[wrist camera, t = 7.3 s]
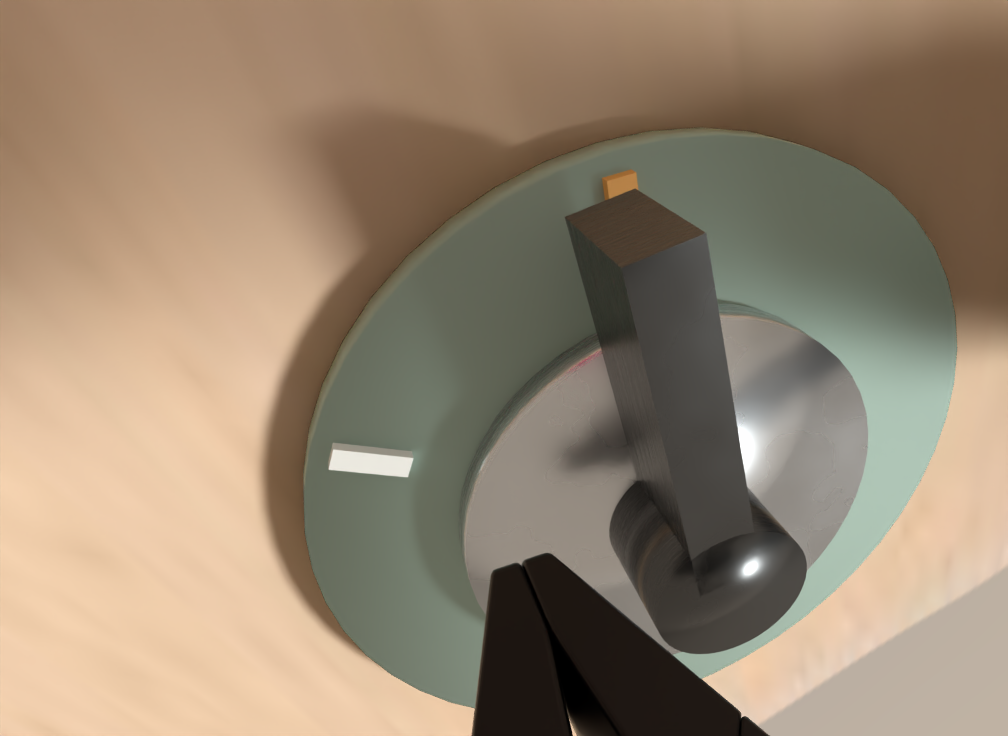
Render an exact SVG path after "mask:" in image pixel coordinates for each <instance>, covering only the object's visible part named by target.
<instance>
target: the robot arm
mask: <svg viewBox="0 0 1008 736" xmlns="http://www.w3.org/2000/svg"><path fill="white" fill-rule="evenodd" d="M569 718H570V721H571V724H572V726H573V728H574V730H575V733H576V735H577V736H769V735H768V734H766V733H765V732H764V731H763V730H762V729H761V728H759V727H758V726H757V725H756V724H755V723H754V722H752V721H751V720H750V719H749V718H748V717H746V716H744V717H742V718H741V712H740V711H739V710H738V709H737V708H735V707H734V706H733V705H732V704H731V703H729V702H728V701H727V700H726V699H725V698H723V697H722V696H721V695H720V694H719V693H717V692H716V691H715V690H714V689H713V688H712V687H710V686H709V685H708V684H707V683H706V682H704V681H703V680H702V679H701V678H700V677H698V676H697V675H696V674H695V673H694V672H692V671H691V670H690V669H689V668H688V667H686V666H685V665H684V664H683V663H682V662H681V661H679V660H678V659H677V658H676V657H675V656H673V655H672V654H671V653H670V652H669V651H667V650H666V649H665V648H664V647H663V646H661V645H660V644H659V643H658V642H657V641H655V640H654V639H653V638H652V637H651V636H649V635H648V634H647V633H646V632H645V631H644V630H642V629H641V628H640V627H639V626H638V625H636V624H635V623H634V622H633V621H632V620H630V619H629V618H628V617H627V616H626V615H624V614H623V613H622V612H621V611H620V610H618V609H617V608H616V607H615V606H614V605H613V604H611V603H610V602H609V601H608V600H607V599H605V598H604V597H603V596H602V595H601V594H599V593H598V592H597V591H596V590H595V589H593V588H592V587H591V586H590V585H589V584H587V583H586V582H585V581H584V580H583V579H582V578H580V577H579V576H578V575H577V574H576V573H574V572H573V571H572V570H571V569H570V568H568V567H567V566H566V565H565V564H564V563H562V562H561V561H560V560H559V559H558V558H556V557H555V556H554V555H553V554H551V553H543V554H540V555H537V556H534V557H531V558H528V559H525V560H524V561H523V562H522V566H521V564H519V563H513V564H510V565H507V566H504V567H501V568H498V569H495V570H493V571H492V573H491V576H490V584H489V593H488V601H487V610H486V618H485V626H484V635H483V643H482V652H481V660H480V669H479V677H478V686H477V694H476V703H475V711H474V720H473V728H472V736H573V735H572V730H571V725H570V721H569Z"/></svg>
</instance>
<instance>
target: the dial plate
mask: <svg viewBox="0 0 1008 736" xmlns="http://www.w3.org/2000/svg"><path fill="white" fill-rule="evenodd" d="M632 189H637V190H639V191H640V192H642V193H643V194H645V195H647V196H648V197H650V198H651V199H653V200H655V201H656V202H658V203H659V204H661V205H663V206H664V207H666V208H667V209H669V210H671V211H672V212H674V213H675V214H677V215H679V216H680V217H682V218H683V219H685V220H686V221H688V222H690V223H691V224H693V225H694V226H696V227H698V228H699V229H701V230H702V231H704V232H706V234H707V240H708V246H709V253H710V259H711V265H712V271H713V277H714V284H715V290H716V296H717V302H718V303H719V304H734V305H740V306H745V307H750V308H756V309H759V310H762V311H764V312H767V313H770V314H773V315H776V316H778V317H780V318H782V319H784V320H786V321H787V322H789V323H791V324H793V325H794V326H796V327H798V328H799V329H801V330H802V331H804V332H805V333H806V334H808V335H809V336H811V337H812V338H814V339H815V340H816V341H818V342H819V343H821V344H822V345H823V346H824V347H826V348H827V349H828V350H829V351H830V352H832V353H833V354H834V355H835V356H836V357H837V358H839V360H840V361H841V362H842V364H843V365H844V366H845V367H846V369H847V370H848V371H849V372H850V374H851V375H852V377H853V379H854V381H855V383H856V385H857V387H858V389H859V391H860V393H861V396H862V399H863V403H864V406H865V410H866V415H867V424H868V451H867V458H866V463H865V468H864V473H863V477H862V480H861V483H860V486H859V489H858V492H857V495H856V497H855V499H854V502H853V504H852V506H851V508H850V510H849V512H848V515H847V516H846V518H845V520H844V522H843V523H842V525H841V527H840V528H839V530H838V532H837V533H836V535H835V537H834V538H833V539H832V541H831V542H830V543H829V545H828V546H827V548H826V549H825V550H824V552H823V553H822V554H821V556H820V557H819V558H818V559H817V560H816V561H815V562H814V564H813V565H812V566H811V567H810V568H809V569H808V570H807V573H806V579H805V582H804V585H803V588H802V590H801V592H800V594H799V596H798V597H797V599H796V601H795V602H794V603H793V605H792V606H791V608H790V609H789V610H788V611H787V612H786V613H785V614H784V616H783V617H782V618H780V619H779V620H778V621H777V622H776V623H775V624H774V625H773V626H771V627H770V628H769V629H768V630H766V631H765V632H763V633H762V634H760V635H759V636H757V637H755V638H754V639H752V640H750V641H748V642H746V643H744V644H742V645H740V646H737V647H735V648H732V649H729V650H725V651H721V652H717V653H710V654H690V653H685V652H680V653H676V654H673V656H675V657H676V658H677V659H678V660H679V661H681V662H682V663H683V664H684V665H685V666H686V667H688V668H689V669H690V670H691V671H692V672H694V673H695V674H696V675H697V676H698V677H700V678H701V679H702V678H704V677H706V676H709V675H711V674H713V673H715V672H717V671H719V670H721V669H723V668H725V667H727V666H729V665H731V664H733V663H734V662H736V661H738V660H740V659H742V658H744V657H746V656H747V655H749V654H751V653H752V652H754V651H756V650H757V649H759V648H760V647H762V646H764V645H765V644H767V643H768V642H770V641H772V640H773V639H775V638H776V637H778V636H779V635H781V634H782V633H783V632H785V631H786V630H787V629H789V628H790V627H792V626H793V625H794V624H796V623H797V622H798V621H800V620H801V619H803V618H804V617H805V616H806V615H808V614H809V613H810V612H811V611H812V610H813V609H815V608H816V607H817V606H818V605H819V604H821V603H822V602H823V601H824V600H825V599H826V598H828V597H829V596H830V595H831V594H832V593H833V592H834V591H835V590H836V589H837V588H838V587H839V586H840V585H841V584H842V583H843V582H844V581H845V580H846V579H847V578H848V577H849V576H850V575H851V574H852V573H853V572H854V571H855V570H856V569H857V568H858V567H859V566H860V565H861V564H862V563H863V561H864V560H865V559H866V558H867V557H868V556H869V555H870V553H871V552H872V551H873V550H874V549H875V548H876V546H877V545H878V544H879V543H880V542H881V540H882V539H883V538H884V536H885V535H886V533H887V532H888V531H889V529H890V528H891V527H892V525H893V524H894V522H895V521H896V520H897V518H898V517H899V516H900V514H901V513H902V511H903V509H904V508H905V506H906V504H907V503H908V501H909V499H910V498H911V496H912V494H913V493H914V491H915V489H916V488H917V486H918V484H919V483H920V481H921V478H922V476H923V474H924V472H925V470H926V468H927V466H928V464H929V462H930V459H931V457H932V455H933V453H934V451H935V448H936V445H937V443H938V440H939V437H940V434H941V431H942V428H943V425H944V422H945V420H946V417H947V412H948V408H949V403H950V399H951V394H952V390H953V385H954V377H955V366H956V355H957V337H956V320H955V311H954V306H953V301H952V297H951V292H950V288H949V283H948V279H947V277H946V274H945V272H944V269H943V267H942V265H941V262H940V260H939V257H938V255H937V253H936V250H935V248H934V246H933V244H932V243H931V241H930V240H929V238H928V237H927V235H926V234H925V232H924V231H923V229H922V228H921V226H920V225H919V223H918V222H917V220H916V218H915V217H914V216H913V215H912V214H911V213H910V212H909V211H908V210H907V209H906V208H905V207H904V206H903V205H902V204H901V203H900V202H899V201H898V200H897V198H896V197H895V196H894V195H893V194H892V193H891V192H890V191H889V190H887V189H886V188H885V187H883V186H882V185H880V184H879V183H877V182H876V181H874V180H873V179H872V178H870V177H869V176H867V175H866V174H864V173H863V172H861V171H860V170H858V169H857V168H856V167H853V166H851V165H849V164H847V163H844V162H842V161H840V160H838V159H835V158H833V157H831V156H829V155H826V154H824V153H822V152H820V151H817V150H815V149H812V148H809V147H806V146H803V145H800V144H797V143H794V142H790V141H786V140H782V139H778V138H774V137H770V136H766V135H762V134H758V133H754V132H750V131H741V130H728V129H715V128H703V127H698V128H684V129H670V130H657V131H647V132H643V133H638V134H634V135H629V136H624V137H620V138H615V139H611V140H606V141H602V142H597V143H594V144H592V145H589V146H586V147H583V148H581V149H578V150H575V151H572V152H570V153H567V154H564V155H561V156H559V157H556V158H553V159H550V160H548V161H545V162H543V163H541V164H539V165H537V166H535V167H533V168H531V169H529V170H528V171H526V172H524V173H522V174H520V175H518V176H516V177H514V178H512V179H510V180H508V181H506V182H504V183H502V184H501V185H499V186H497V187H495V188H493V189H492V190H490V191H489V192H487V193H486V194H485V195H483V196H482V197H480V198H479V199H477V200H476V201H474V202H473V203H472V204H470V205H469V206H467V207H466V208H464V209H463V210H461V211H460V212H458V213H457V214H456V215H454V216H453V217H451V218H450V219H448V220H447V221H446V222H445V223H444V224H443V225H442V226H440V227H439V228H438V229H437V230H436V231H435V232H434V233H433V234H432V235H430V236H429V237H428V238H427V239H426V240H425V241H424V242H423V243H421V244H420V245H419V246H418V247H417V248H416V249H415V250H414V251H413V252H411V253H410V254H409V255H408V256H407V257H406V258H405V259H404V260H403V262H402V263H401V264H400V265H399V266H398V267H397V268H396V270H395V271H394V272H393V273H392V274H391V275H390V277H389V278H388V279H387V280H386V281H385V282H384V284H383V285H382V286H381V287H380V288H379V289H378V290H377V292H376V293H375V294H374V295H373V296H372V297H371V299H370V300H369V302H368V303H367V305H366V306H365V308H364V309H363V311H362V313H361V314H360V316H359V317H358V319H357V320H356V322H355V323H354V325H353V326H352V328H351V329H350V331H349V332H348V334H347V335H346V337H345V338H344V340H343V342H342V344H341V346H340V348H339V350H338V352H337V354H336V357H335V359H334V361H333V363H332V365H331V367H330V369H329V371H328V374H327V376H326V378H325V380H324V382H323V384H322V387H321V390H320V394H319V397H318V400H317V404H316V407H315V410H314V414H313V417H312V420H311V424H310V427H309V433H308V440H307V447H306V455H305V462H304V469H303V480H304V522H305V537H306V541H307V546H308V551H309V556H310V561H311V565H312V570H313V573H314V575H315V577H316V580H317V582H318V585H319V587H320V590H321V592H322V594H323V597H324V599H325V602H326V604H327V605H328V607H329V608H330V610H331V611H332V613H333V615H334V616H335V618H336V619H337V621H338V622H339V624H340V626H341V627H342V629H343V630H344V632H345V633H346V634H347V635H348V636H349V637H350V638H351V639H352V640H353V641H354V642H355V643H356V645H357V646H358V647H359V648H360V649H361V650H362V651H363V652H364V653H365V654H366V655H367V656H368V657H369V658H371V659H372V660H373V661H374V662H376V663H377V664H378V665H380V666H381V667H382V668H383V669H385V670H386V671H387V672H389V673H390V674H391V675H393V676H394V677H396V678H398V679H400V680H402V681H404V682H405V683H407V684H409V685H411V686H413V687H414V688H416V689H418V690H420V691H422V692H425V693H427V694H430V695H433V696H435V697H438V698H440V699H443V700H446V701H448V702H451V703H455V704H459V705H463V706H467V707H471V708H475V703H476V694H477V686H478V677H479V669H480V660H481V652H482V643H483V635H484V626H485V618H486V614H485V613H484V611H483V610H482V608H481V607H480V605H479V603H478V602H477V599H476V597H475V594H474V592H473V589H472V587H471V584H470V581H469V577H468V574H467V570H466V567H465V563H464V560H463V556H462V551H461V546H460V541H459V526H458V513H459V506H460V499H461V492H462V488H463V485H464V482H465V478H466V475H467V472H468V468H469V466H470V463H471V461H472V459H473V457H474V455H475V453H476V450H477V448H478V446H479V444H480V442H481V440H482V439H483V437H484V435H485V434H486V432H487V431H488V429H489V427H490V426H491V424H492V423H493V421H494V419H495V418H496V417H497V415H498V414H499V413H500V412H501V411H502V409H503V408H504V407H505V406H506V404H507V403H508V402H509V401H510V399H511V398H512V397H513V396H514V395H515V394H516V393H517V392H518V391H519V390H520V389H521V388H522V387H523V386H524V385H525V384H526V383H527V382H528V381H529V380H530V379H531V378H532V377H533V376H534V375H535V374H536V373H537V372H538V371H540V370H541V369H542V368H543V367H545V366H546V365H547V364H548V363H550V362H551V361H552V360H553V359H555V358H556V357H557V356H559V355H560V354H561V353H563V352H564V351H566V350H567V349H569V348H571V347H572V346H574V345H575V344H577V343H579V342H580V341H582V340H583V339H585V338H587V337H588V336H590V335H592V334H594V333H597V332H596V329H595V325H594V322H593V318H592V314H591V311H590V307H589V303H588V300H587V296H586V293H585V289H584V285H583V282H582V278H581V275H580V271H579V267H578V264H577V260H576V256H575V253H574V249H573V246H572V242H571V238H570V235H569V231H568V228H567V224H566V220H565V217H566V216H568V215H571V214H573V213H575V212H578V211H580V210H583V209H585V208H588V207H590V206H593V205H595V204H598V203H600V202H603V201H605V200H608V199H610V198H613V197H615V196H618V195H620V194H623V193H625V192H627V191H630V190H632Z"/></svg>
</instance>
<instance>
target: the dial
mask: <svg viewBox="0 0 1008 736" xmlns="http://www.w3.org/2000/svg"><path fill="white" fill-rule="evenodd" d="M565 220H566V224H567V228H568V231H569V235H570V238H571V242H572V246H573V249H574V253H575V256H576V260H577V264H578V267H579V271H580V275H581V278H582V282H583V285H584V289H585V293H586V296H587V300H588V303H589V307H590V311H591V314H592V318H593V322H594V325H595V329H596V332H597V333H594V334H592V335H590V336H588V337H587V338H585V339H583V340H582V341H580V342H579V343H577V344H575V345H574V346H572V347H571V348H569V349H567V350H566V351H564V352H563V353H561V354H560V355H559V356H557V357H556V358H555V359H553V360H552V361H551V362H550V363H548V364H547V365H546V366H545V367H543V368H542V369H541V370H540V371H538V372H537V373H536V374H535V375H534V376H533V377H532V378H531V379H530V380H529V381H528V382H527V383H526V384H525V385H524V386H523V387H522V388H521V389H520V390H519V391H518V392H517V393H516V394H515V395H514V396H513V397H512V398H511V399H510V401H509V402H508V403H507V404H506V406H505V407H504V408H503V409H502V411H501V412H500V413H499V414H498V415H497V417H496V418H495V419H494V421H493V423H492V424H491V426H490V427H489V429H488V431H487V432H486V434H485V435H484V437H483V439H482V440H481V442H480V444H479V446H478V448H477V450H476V453H475V455H474V457H473V459H472V461H471V463H470V466H469V468H468V472H467V475H466V478H465V482H464V485H463V488H462V492H461V499H460V506H459V513H458V526H459V541H460V546H461V551H462V556H463V560H464V563H465V567H466V570H467V574H468V577H469V581H470V584H471V587H472V589H473V592H474V594H475V597H476V599H477V602H478V603H479V605H480V607H481V608H482V610H483V611H484V613H485V614H486V610H487V601H488V593H489V584H490V576H491V573H492V571H493V570H495V569H498V568H501V567H504V566H507V565H510V564H513V563H519V564H521V566H522V562H523V561H524V560H525V559H528V558H531V557H534V556H537V555H540V554H543V553H551V554H553V555H554V556H555V557H556V558H558V559H559V560H560V561H561V562H562V563H564V564H565V565H566V566H567V567H568V568H570V569H571V570H572V571H573V572H574V573H576V574H577V575H578V576H579V577H580V578H582V579H583V580H584V581H585V582H586V583H587V584H589V585H590V586H591V587H592V588H593V589H595V590H596V591H597V592H598V593H599V594H601V595H602V596H603V597H604V598H605V599H607V600H608V601H609V602H610V603H611V604H613V605H614V606H615V607H616V608H617V609H618V610H620V611H621V612H622V613H623V614H624V615H626V616H627V617H628V618H629V619H630V620H632V621H633V622H634V623H635V624H636V625H638V626H639V627H640V628H641V629H642V630H644V631H645V632H646V633H647V634H648V635H649V636H651V637H652V638H653V639H654V640H655V641H657V642H658V643H659V644H660V645H661V646H663V647H664V648H665V649H666V650H667V651H669V652H670V653H671V654H672V655H673V654H676V653H680V652H685V653H690V654H710V653H717V652H721V651H725V650H729V649H732V648H735V647H737V646H740V645H742V644H744V643H746V642H748V641H750V640H752V639H754V638H755V637H757V636H759V635H760V634H762V633H763V632H765V631H766V630H768V629H769V628H770V627H771V626H773V625H774V624H775V623H776V622H777V621H778V620H779V619H780V618H782V617H783V616H784V614H785V613H786V612H787V611H788V610H789V609H790V608H791V606H792V605H793V603H794V602H795V601H796V599H797V597H798V596H799V594H800V592H801V590H802V588H803V585H804V582H805V579H806V573H807V570H808V569H809V568H810V567H811V566H812V565H813V564H814V562H815V561H816V560H817V559H818V558H819V557H820V556H821V554H822V553H823V552H824V550H825V549H826V548H827V546H828V545H829V543H830V542H831V541H832V539H833V538H834V537H835V535H836V533H837V532H838V530H839V528H840V527H841V525H842V523H843V522H844V520H845V518H846V516H847V515H848V512H849V510H850V508H851V506H852V504H853V502H854V499H855V497H856V495H857V492H858V489H859V486H860V483H861V480H862V477H863V473H864V468H865V463H866V458H867V451H868V424H867V415H866V410H865V406H864V403H863V399H862V396H861V393H860V391H859V389H858V387H857V385H856V383H855V381H854V379H853V377H852V375H851V374H850V372H849V371H848V370H847V369H846V367H845V366H844V365H843V364H842V362H841V361H840V360H839V358H837V357H836V356H835V355H834V354H833V353H832V352H830V351H829V350H828V349H827V348H826V347H824V346H823V345H822V344H821V343H819V342H818V341H816V340H815V339H814V338H812V337H811V336H809V335H808V334H806V333H805V332H804V331H802V330H801V329H799V328H798V327H796V326H794V325H793V324H791V323H789V322H787V321H786V320H784V319H782V318H780V317H778V316H776V315H773V314H770V313H767V312H764V311H762V310H759V309H756V308H750V307H745V306H740V305H734V304H719V303H718V302H717V296H716V290H715V284H714V277H713V271H712V265H711V259H710V253H709V246H708V240H707V234H706V232H704V231H702V230H701V229H699V228H698V227H696V226H694V225H693V224H691V223H690V222H688V221H686V220H685V219H683V218H682V217H680V216H679V215H677V214H675V213H674V212H672V211H671V210H669V209H667V208H666V207H664V206H663V205H661V204H659V203H658V202H656V201H655V200H653V199H651V198H650V197H648V196H647V195H645V194H643V193H642V192H640V191H639V190H637V189H632V190H630V191H627V192H625V193H623V194H620V195H618V196H615V197H613V198H610V199H608V200H605V201H603V202H600V203H598V204H595V205H593V206H590V207H588V208H585V209H583V210H580V211H578V212H575V213H573V214H571V215H568V216H566V217H565Z"/></svg>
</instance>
